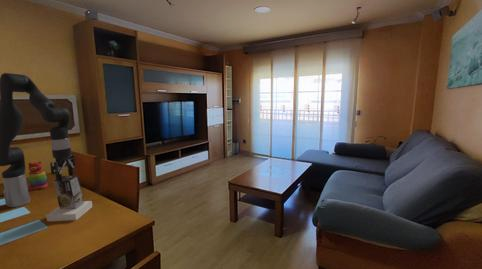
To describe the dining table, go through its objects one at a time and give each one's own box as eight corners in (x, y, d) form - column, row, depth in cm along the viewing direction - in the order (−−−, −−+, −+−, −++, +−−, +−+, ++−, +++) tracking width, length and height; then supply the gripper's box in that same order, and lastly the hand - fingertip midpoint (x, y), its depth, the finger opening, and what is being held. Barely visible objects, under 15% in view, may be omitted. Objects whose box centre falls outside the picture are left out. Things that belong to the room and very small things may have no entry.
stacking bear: (25, 191, 148) (20, 165, 145) (32, 186, 157) (27, 161, 154) (45, 188, 152) (41, 163, 149) (51, 183, 161) (47, 159, 158)
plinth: (47, 222, 113) (46, 215, 112) (66, 208, 126) (65, 201, 126) (76, 221, 114) (75, 213, 113) (92, 207, 127) (91, 200, 127)
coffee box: (84, 202, 124) (79, 175, 120) (75, 209, 118) (70, 180, 114) (68, 202, 124) (62, 175, 121) (58, 208, 118) (52, 180, 114)
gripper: (63, 144, 120) (67, 173, 123) (42, 151, 106) (47, 183, 109) (78, 144, 121) (82, 173, 124) (58, 150, 107) (63, 183, 110)
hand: (65, 178), depth 116 cm, fingers open, 8 cm apart
